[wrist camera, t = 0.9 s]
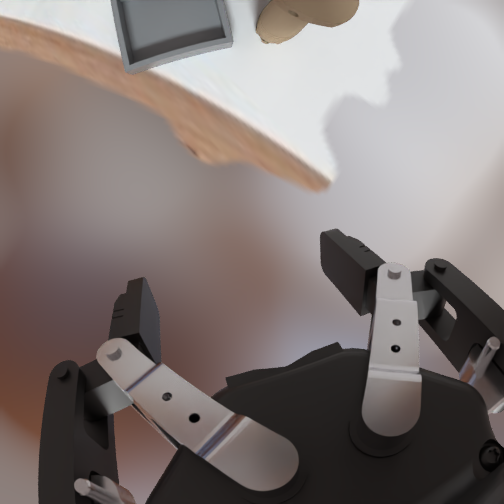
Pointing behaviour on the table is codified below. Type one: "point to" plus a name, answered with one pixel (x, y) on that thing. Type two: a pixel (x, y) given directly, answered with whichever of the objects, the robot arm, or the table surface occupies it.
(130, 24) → the tray
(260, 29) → the handle
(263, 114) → the table surface
